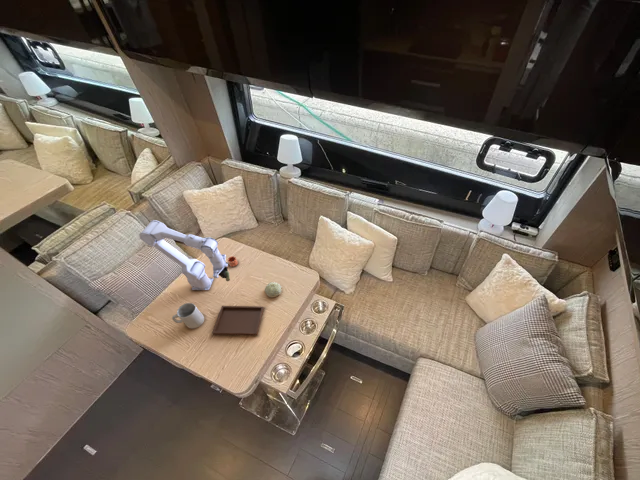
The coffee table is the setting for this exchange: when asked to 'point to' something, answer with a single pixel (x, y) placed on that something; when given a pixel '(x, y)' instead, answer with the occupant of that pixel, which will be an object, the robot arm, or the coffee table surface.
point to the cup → (232, 261)
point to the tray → (238, 320)
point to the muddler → (227, 276)
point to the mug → (189, 315)
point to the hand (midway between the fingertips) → (225, 275)
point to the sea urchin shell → (273, 289)
